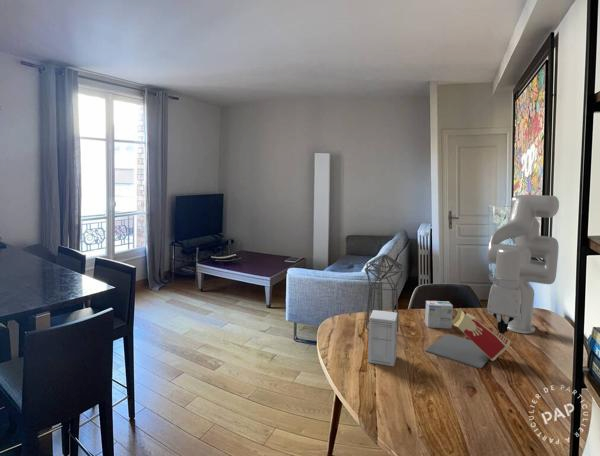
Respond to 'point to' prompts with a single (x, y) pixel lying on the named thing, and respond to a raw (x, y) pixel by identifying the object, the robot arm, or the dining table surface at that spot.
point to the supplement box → (382, 337)
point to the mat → (459, 351)
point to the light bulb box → (438, 314)
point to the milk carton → (481, 334)
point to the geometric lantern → (384, 283)
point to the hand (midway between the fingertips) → (502, 332)
